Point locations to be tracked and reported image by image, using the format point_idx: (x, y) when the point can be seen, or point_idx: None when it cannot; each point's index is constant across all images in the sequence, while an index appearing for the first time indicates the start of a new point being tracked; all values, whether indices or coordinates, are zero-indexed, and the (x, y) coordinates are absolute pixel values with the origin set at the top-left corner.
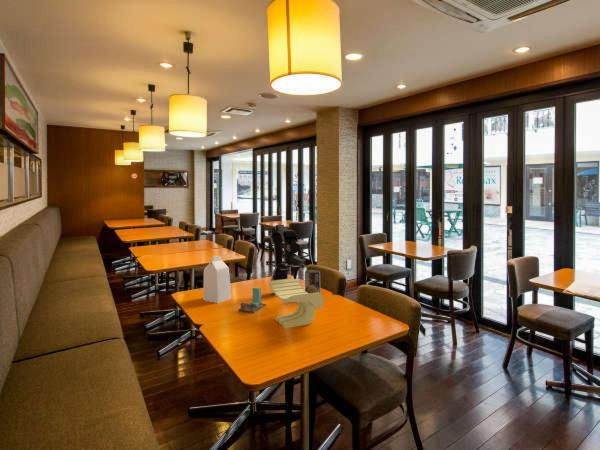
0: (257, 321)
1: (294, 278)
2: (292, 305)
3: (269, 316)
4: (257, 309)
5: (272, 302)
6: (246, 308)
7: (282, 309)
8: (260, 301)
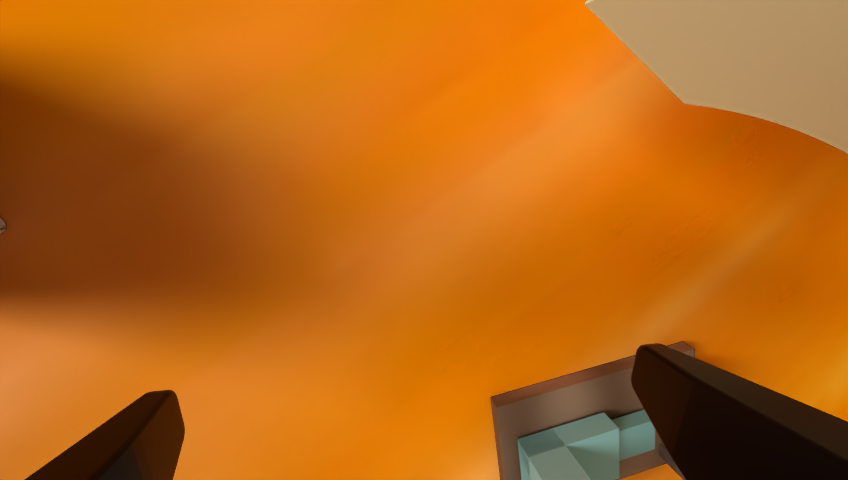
0: (816, 198)
1: (173, 441)
2: (354, 201)
3: (706, 191)
4: (633, 363)
5: (383, 418)
6: (655, 433)
7: (514, 210)
8: (538, 451)
